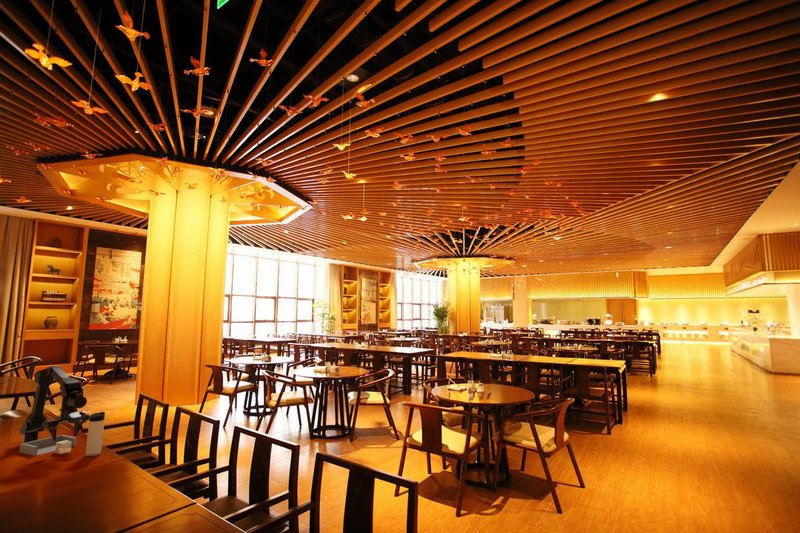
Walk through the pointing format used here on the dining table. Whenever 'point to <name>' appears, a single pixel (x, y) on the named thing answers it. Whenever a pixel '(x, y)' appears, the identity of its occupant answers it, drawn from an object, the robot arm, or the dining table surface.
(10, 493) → the dining table surface
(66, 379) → the robot arm
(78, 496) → the dining table surface
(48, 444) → the slate box
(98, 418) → the travel mug
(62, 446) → the birch block
